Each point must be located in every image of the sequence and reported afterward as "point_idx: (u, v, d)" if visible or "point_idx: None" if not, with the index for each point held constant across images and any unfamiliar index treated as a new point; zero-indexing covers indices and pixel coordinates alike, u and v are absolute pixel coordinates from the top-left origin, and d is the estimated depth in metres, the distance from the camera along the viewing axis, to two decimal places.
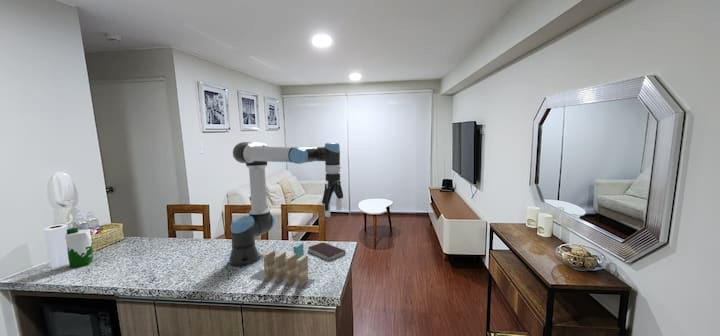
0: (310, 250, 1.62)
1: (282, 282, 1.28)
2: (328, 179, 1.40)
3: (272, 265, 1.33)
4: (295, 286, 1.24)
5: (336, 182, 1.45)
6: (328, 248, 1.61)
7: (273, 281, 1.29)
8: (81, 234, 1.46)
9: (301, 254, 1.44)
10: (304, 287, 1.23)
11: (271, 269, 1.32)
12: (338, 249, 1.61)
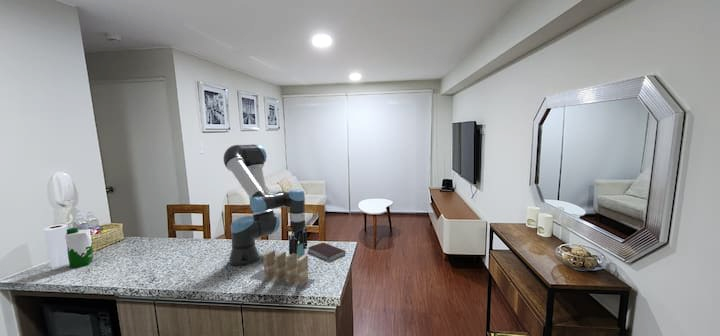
0: (310, 250, 1.62)
1: (282, 282, 1.28)
2: (292, 227, 1.39)
3: (272, 265, 1.33)
4: (295, 286, 1.24)
5: (301, 229, 1.43)
6: (328, 249, 1.61)
7: (273, 281, 1.29)
8: (81, 234, 1.46)
9: (301, 254, 1.44)
10: (304, 287, 1.23)
11: (271, 269, 1.32)
12: (338, 249, 1.60)
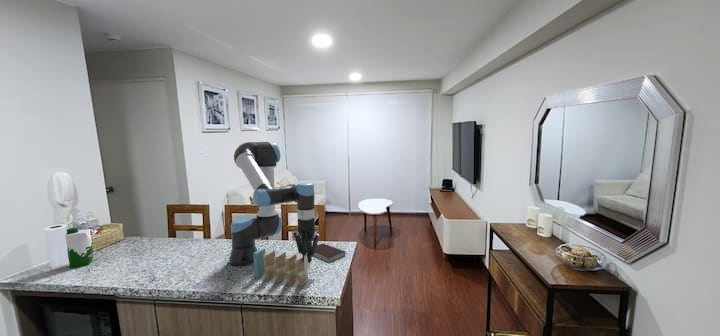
0: None
1: (282, 282, 1.28)
2: None
3: (272, 265, 1.33)
4: (295, 286, 1.24)
5: (308, 230, 1.22)
6: (328, 249, 1.60)
7: (273, 281, 1.29)
8: (81, 234, 1.46)
9: (262, 261, 1.35)
10: (304, 287, 1.23)
11: (271, 269, 1.32)
12: (338, 250, 1.59)
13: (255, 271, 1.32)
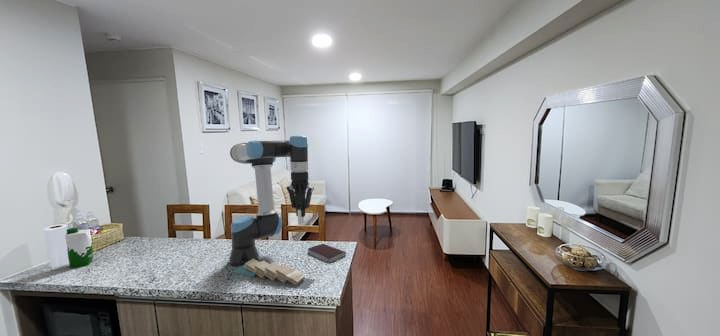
0: (310, 251, 1.60)
1: (282, 282, 1.28)
2: None
3: None
4: (295, 286, 1.24)
5: (302, 183, 1.21)
6: (328, 250, 1.59)
7: (273, 281, 1.29)
8: (81, 234, 1.46)
9: None
10: (304, 287, 1.23)
11: None
12: (338, 250, 1.59)
13: (248, 274, 1.34)
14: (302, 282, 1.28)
